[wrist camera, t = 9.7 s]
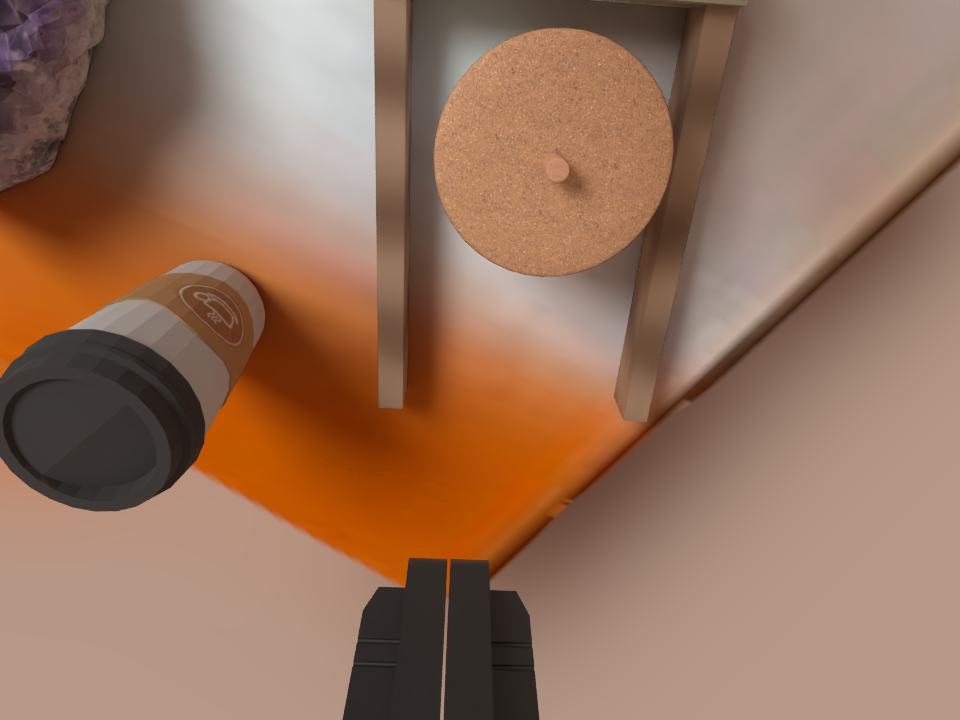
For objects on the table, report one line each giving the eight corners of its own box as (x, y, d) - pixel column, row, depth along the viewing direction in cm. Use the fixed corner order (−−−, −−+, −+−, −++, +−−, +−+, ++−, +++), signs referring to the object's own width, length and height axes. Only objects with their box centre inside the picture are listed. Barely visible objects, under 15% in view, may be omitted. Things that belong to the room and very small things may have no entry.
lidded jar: (602, 249, 37) (639, 309, 29) (427, 214, 36) (412, 265, 28) (661, 56, 33) (725, 60, 24) (461, 9, 32) (456, -4, 23)
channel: (381, -64, 30) (369, -78, 27) (726, -37, 31) (758, -47, 27) (385, 384, 41) (376, 416, 38) (635, 397, 42) (650, 430, 38)
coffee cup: (311, 316, 39) (226, 456, 26) (223, 386, 42) (102, 549, 28) (209, 212, 36) (53, 311, 23) (120, 295, 38) (-69, 429, 25)
